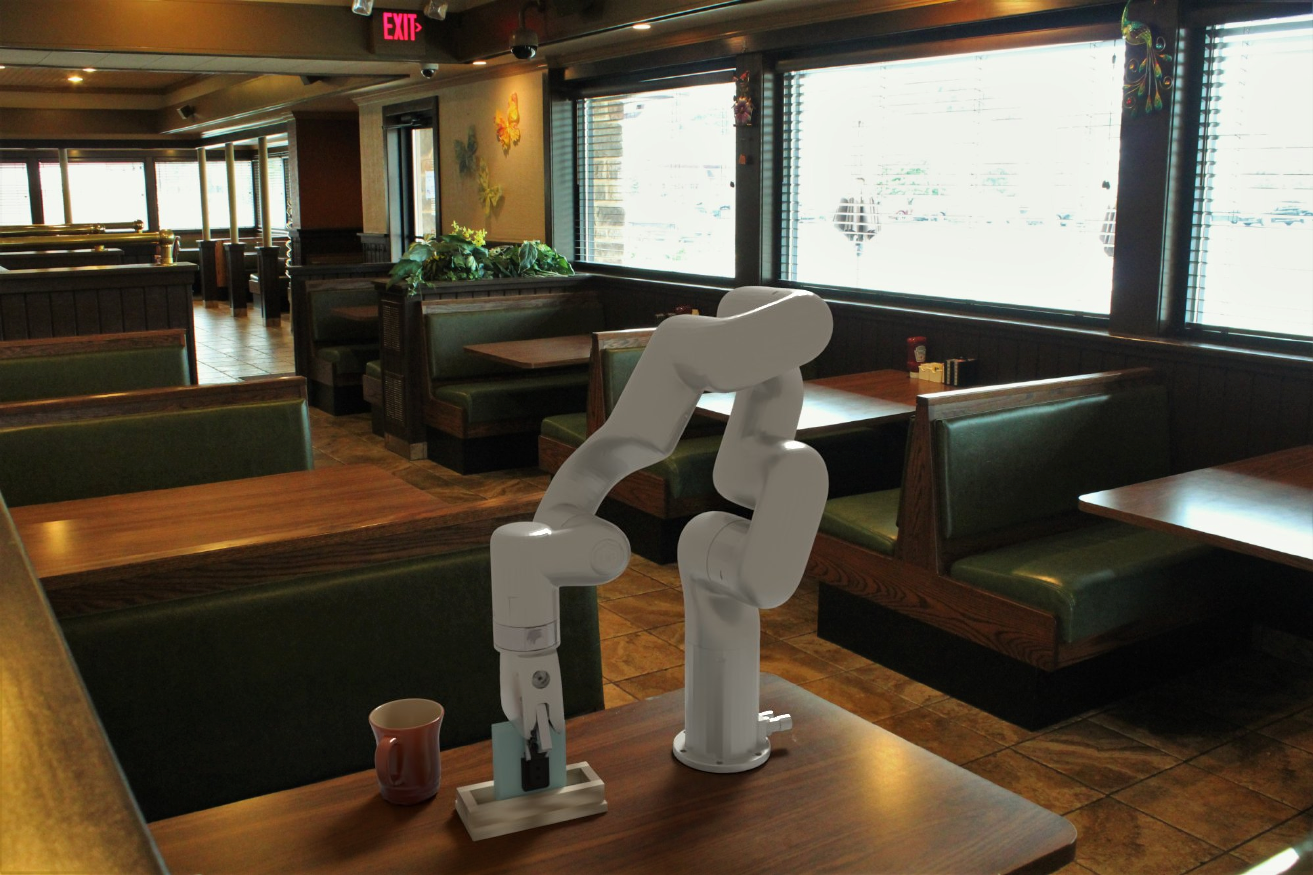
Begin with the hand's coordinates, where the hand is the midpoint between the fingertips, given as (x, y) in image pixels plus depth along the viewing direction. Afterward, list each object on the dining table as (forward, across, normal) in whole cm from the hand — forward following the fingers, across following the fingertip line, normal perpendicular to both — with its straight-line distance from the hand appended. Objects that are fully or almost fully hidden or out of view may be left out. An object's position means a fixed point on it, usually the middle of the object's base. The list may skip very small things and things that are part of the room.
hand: (531, 780), depth 132 cm
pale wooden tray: (+4, 0, 0) cm, 4 cm away
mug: (+4, +8, +13) cm, 16 cm away
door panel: (+2, 0, 0) cm, 2 cm away
